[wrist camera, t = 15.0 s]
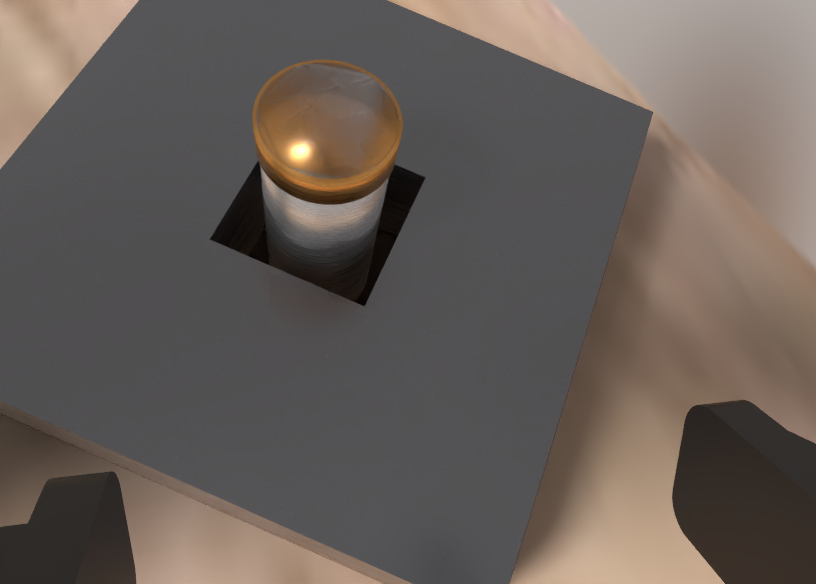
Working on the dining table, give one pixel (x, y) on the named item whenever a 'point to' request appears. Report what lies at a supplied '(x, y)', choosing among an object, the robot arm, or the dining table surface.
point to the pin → (325, 169)
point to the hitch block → (307, 303)
